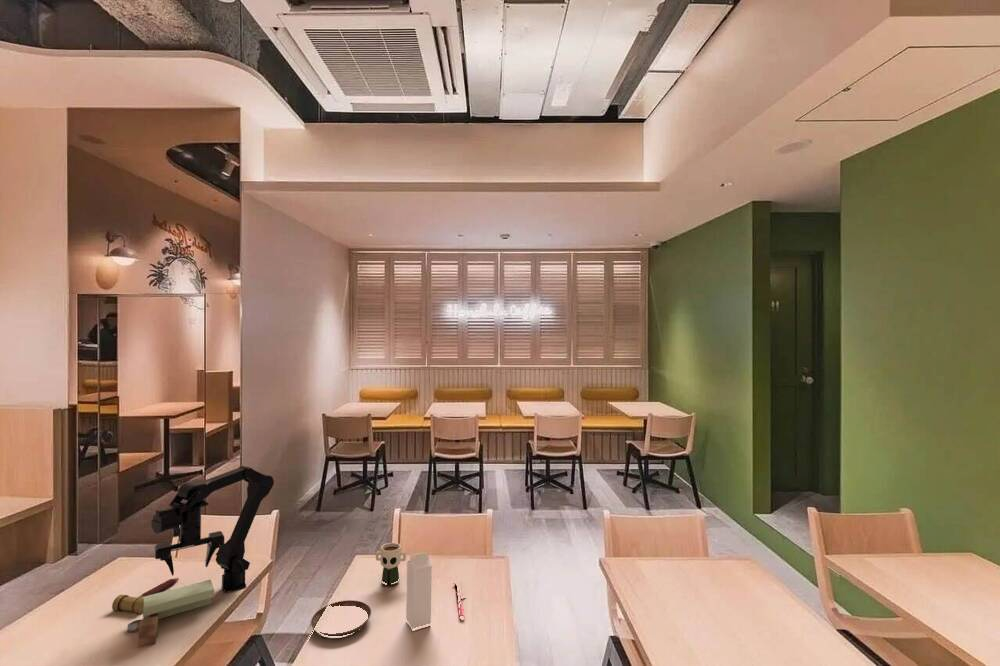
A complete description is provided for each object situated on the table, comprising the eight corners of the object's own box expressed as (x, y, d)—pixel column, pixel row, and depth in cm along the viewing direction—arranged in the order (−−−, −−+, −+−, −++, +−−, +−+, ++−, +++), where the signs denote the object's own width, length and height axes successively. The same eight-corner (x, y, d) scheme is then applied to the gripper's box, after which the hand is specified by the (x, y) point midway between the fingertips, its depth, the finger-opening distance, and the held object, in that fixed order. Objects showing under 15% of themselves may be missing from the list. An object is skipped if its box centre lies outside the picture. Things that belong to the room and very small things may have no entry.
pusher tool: (162, 619, 150) (162, 599, 150) (155, 644, 138) (155, 623, 138) (146, 622, 148) (146, 603, 148) (138, 648, 136) (138, 627, 136)
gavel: (166, 571, 174) (191, 573, 172) (165, 584, 174) (190, 586, 172) (112, 598, 153) (140, 601, 152) (110, 613, 153) (138, 616, 151)
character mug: (372, 587, 170) (373, 550, 170) (377, 577, 177) (378, 542, 178) (403, 588, 170) (404, 551, 170) (407, 578, 177) (407, 542, 177)
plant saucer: (300, 643, 140) (300, 632, 140) (323, 608, 158) (323, 599, 158) (361, 644, 140) (361, 634, 140) (377, 609, 157) (377, 600, 157)
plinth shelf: (210, 600, 161) (210, 579, 161) (213, 610, 155) (214, 588, 155) (143, 619, 149) (143, 596, 149) (144, 631, 144) (144, 607, 144)
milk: (430, 627, 148) (432, 555, 148) (411, 632, 145) (413, 559, 145) (423, 616, 154) (425, 547, 154) (405, 621, 151) (407, 551, 151)
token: (147, 624, 147) (147, 619, 147) (138, 633, 143) (138, 627, 143) (133, 624, 147) (133, 619, 147) (124, 633, 143) (124, 628, 143)
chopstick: (462, 584, 176) (450, 581, 175) (464, 579, 176) (452, 575, 175) (469, 624, 152) (455, 620, 151) (471, 617, 152) (457, 613, 151)
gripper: (219, 509, 168) (218, 553, 168) (153, 521, 157) (153, 569, 157) (225, 519, 160) (224, 566, 159) (155, 532, 148) (155, 583, 148)
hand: (189, 570), depth 156 cm, fingers open, 9 cm apart
